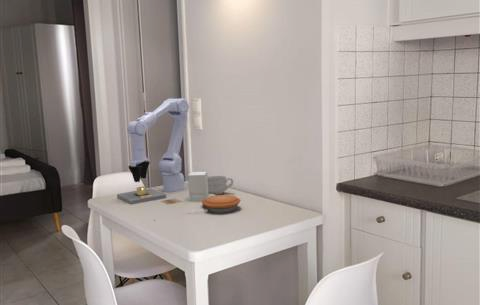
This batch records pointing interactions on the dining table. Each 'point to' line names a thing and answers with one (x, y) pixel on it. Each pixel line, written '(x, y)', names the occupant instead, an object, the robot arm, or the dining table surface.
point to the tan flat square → (171, 201)
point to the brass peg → (141, 191)
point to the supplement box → (198, 186)
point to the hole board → (134, 199)
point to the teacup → (218, 184)
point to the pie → (221, 203)
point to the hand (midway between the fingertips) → (140, 180)
